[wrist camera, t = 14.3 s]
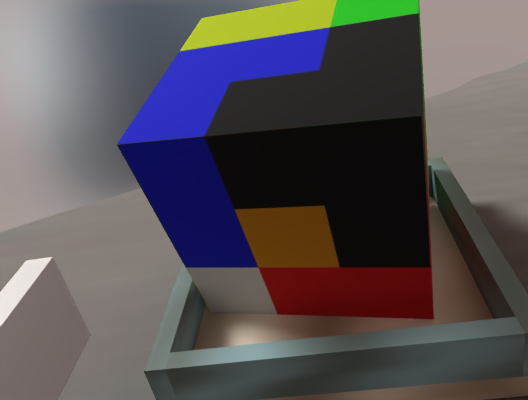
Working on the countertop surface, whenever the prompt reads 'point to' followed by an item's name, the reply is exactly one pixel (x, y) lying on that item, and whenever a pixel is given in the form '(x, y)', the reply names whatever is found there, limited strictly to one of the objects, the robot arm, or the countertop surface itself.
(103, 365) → the countertop surface
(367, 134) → the puzzle toy
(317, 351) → the shallow tray
